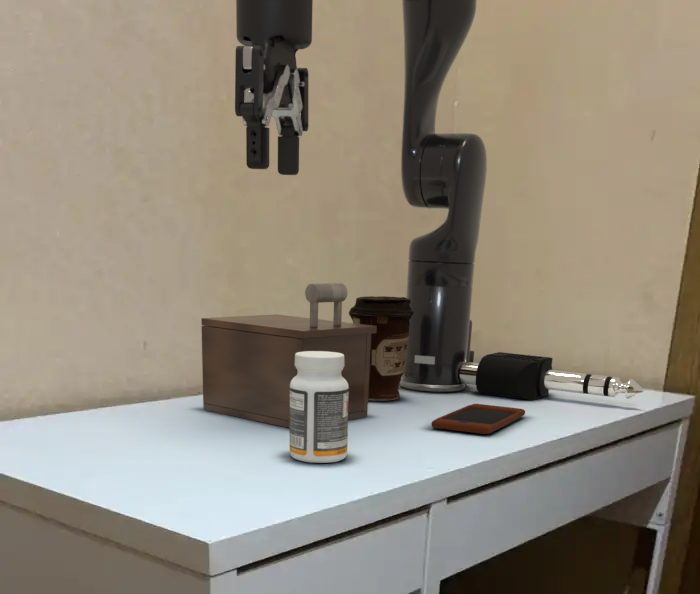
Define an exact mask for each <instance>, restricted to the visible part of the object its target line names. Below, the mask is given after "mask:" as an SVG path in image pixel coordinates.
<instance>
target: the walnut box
mask: <svg viewBox="0 0 700 594" xmlns="http://www.w3.org/2000/svg"><path fill="white" fill-rule="evenodd" d="M370 345H371V333H370V334H357V335H344V336H331V337H319V338H306V339H301V338H294V337H286V336H279V335H271V334H264V333H256V332H249V331H241V330H234V329H226V328H219V327H211V326H204V325H201V362H202V363H201V364H202V365H201V366H202V406H203V407H202V409H203V411H207V412H213V413H218V414H222V415H228V416H231V417H237V418H241V419H245V420H246V419H247V420H251V421H254V422H260V423H265V424H268V425H269V424H270V425H275V426H278V427H283V428H288V429H290V383H291V380H292V379H293V378H294V377H295V376H297V373H298V370H297V369H296V366H295V354H296V353H297V352H304V351H327V352H337V353H342V354H344V368H343V370H342V371H341V375H342V377H343V378H344V379H345V380H346V381H347V383H348V386H349V395H348V421H350V420H351V421H352V420H356V419H362V418H367V417H368V410H369V409H368V408H369V400H368V390H369V367H370Z"/></svg>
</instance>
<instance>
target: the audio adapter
mask: <svg viewBox="0 0 700 594" xmlns="http://www.w3.org/2000/svg"><path fill="white" fill-rule="evenodd" d="M553 359H554V358H553V357H549V356H539V355H530V354H520V353H513V352H512V353H511V352H504V351H503V352H502V351H498V352H494V353H489V354H486V355H484V356H483V357H482V358H480V360H479V362H473V363H472V362H464V363H463V364H462V366H461V369H460V374H459V378H460V382H461V383H462V384H467V385H469V386H470V385H471V386H475V387H476V390H477V392H478V394H481V395H489V396H496V397H505V398H511V399H518V400H519V399H520V400H527V401H535V400H539V399H543V398H544V397H547V396H549V391H557V392H558V391H559V392H568V393H575V394H581V395H582V394H585V395H592V396H599V397H609V398H616V397H618V396H619V394H623V395H624V396H625V399H626V400H630V399H632V398H634V397H636V396H638V395H640V394H642V393H643V392H644V388H643V387H642V386H641V385H640V384H639V383H638V382H637V381H635V380H634V379H633V378H630V379H628V381H627V382H622V381H621V379H620V377H618V376H609V375H603V374H602V375H601V374H594V373H593V374H590V373H585V372H576V371H565V370H556V369H553Z"/></svg>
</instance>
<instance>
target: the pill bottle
mask: <svg viewBox="0 0 700 594" xmlns="http://www.w3.org/2000/svg"><path fill="white" fill-rule="evenodd" d="M295 366H296V369H297V370H298V373H297V376H295V377H294V378H293V379H292V380H291V383H290V428H289V438H288V439H289V440H288V441H289V455H290V456H291V458H292V459H294V460H297V461H299V462H304V463H312V464H329V463H337V462H339V461H342V460H344V459H346V457H347V455H348V435H349V433H348V432H349V431H348V428H349V427H348V426H349V420H348V395H349V386H348V383H347V381H346V380H345V379H344V378H343V377H342V375H341V371H342V370H343V368H344V354H342V353H337V352H327V351H304V352H297V353H296V354H295Z"/></svg>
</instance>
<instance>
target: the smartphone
mask: <svg viewBox="0 0 700 594" xmlns="http://www.w3.org/2000/svg"><path fill="white" fill-rule="evenodd" d="M525 415H526V410H525V409H523V408H519V407H510V406H500V405H499V406H498V405H494V404H493V405H491V404H483V403H472V404H468V405H466V406H464V407H461V408H459V409H457V410H454V411H451V412H449V413H447V414H444V415H442V416H439V417H437V418H435V419H434V420H431V424H430V425H431V427H432V428H434V429H438V430H439V429H440V430H448V431H457V432H464V433H471V434H480V435H481V434H482V435H489V434H491V433H494V432H496V431H498V430H500V429H502V428H503V427H505V426H508V425H509V424H511V423H514V422H515V421H517V420H519V419H521V418H522V417H524V416H525Z"/></svg>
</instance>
